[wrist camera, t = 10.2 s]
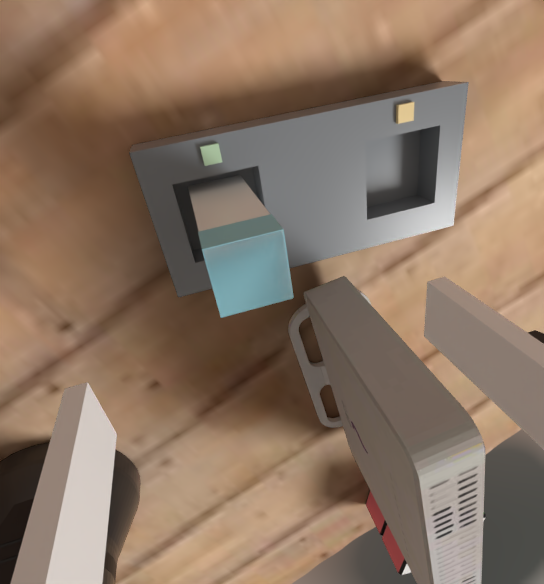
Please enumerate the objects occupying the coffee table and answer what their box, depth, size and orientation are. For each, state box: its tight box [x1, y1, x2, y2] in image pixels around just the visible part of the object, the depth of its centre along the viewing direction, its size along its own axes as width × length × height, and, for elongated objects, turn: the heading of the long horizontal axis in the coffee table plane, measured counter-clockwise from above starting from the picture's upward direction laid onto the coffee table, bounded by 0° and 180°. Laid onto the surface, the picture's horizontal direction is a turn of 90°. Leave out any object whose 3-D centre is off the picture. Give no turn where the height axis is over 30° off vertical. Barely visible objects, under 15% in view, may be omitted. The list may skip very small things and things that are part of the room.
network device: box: [288, 276, 485, 584], centre depth 34 cm, size 26×9×20 cm, turn 16°
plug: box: [188, 175, 294, 318], centre depth 25 cm, size 4×4×12 cm
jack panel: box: [129, 81, 468, 297], centre depth 30 cm, size 24×11×3 cm, turn 98°
